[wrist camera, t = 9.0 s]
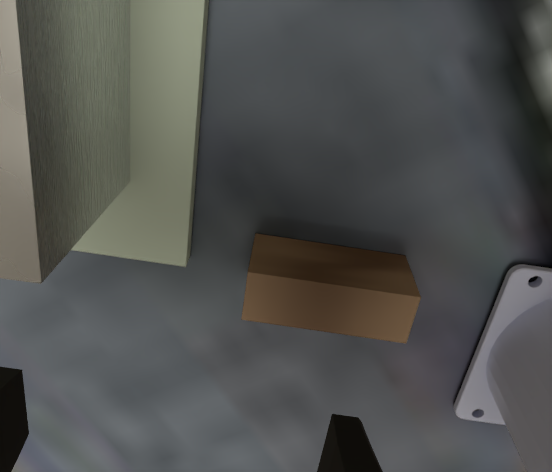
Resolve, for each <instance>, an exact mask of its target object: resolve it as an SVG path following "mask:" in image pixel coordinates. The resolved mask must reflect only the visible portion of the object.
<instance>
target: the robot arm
mask: <svg viewBox="0 0 552 472" xmlns="http://www.w3.org/2000/svg"><path fill="white" fill-rule="evenodd" d="M534 276H538V278H537V279H536V280H535V281H533V282H528V281H529V279H530V278H532V277H534ZM476 409H480V410H478V411H474V410H476ZM454 410H455V413H456V415H457V416H458V417H459V418H462V419H466V420H473V421H480V422H487V423H494V424H501V425H506V427H507V429H508V431H509V433H510V435H511V438H512V440H513V442H514V444H515V446H516V449H517V451H518V453H519V455H520V457H521V460H522V462H523V464H524V466H525V468H526V471H527V472H552V269H551V268H545V267H538V266H531V265H524V264H520V265H516V266H513V267H512V268H511V269H509V271H508V272H507V274H506V277H505V279H504V282H503V284H502V287H501V289H500V291H499V294H498V296H497V299H496V301H495V304H494V306H493V309H492V311H491V314H490V316H489V319H488V321H487V324H486V326H485V329H484V331H483V334H482V336H481V339H480V341H479V344H478V346H477V349H476V351H475V354H474V356H473V359H472V361H471V364H470V366H469V369H468V371H467V374H466V376H465V379H464V381H463V384H462V386H461V389H460V391H459V394H458V396H457V399H456V401H455V404H454ZM28 434H29V430H28V421H27V412H26V402H25V393H24V384H23V375H22V370H19V369H12V368H5V367H0V472H11V471H12V469H13V467H14V465H15V463H16V461H17V459H18V457H19V454H20V452H21V450H22V448H23V446H24V443H25V441H26V439H27V437H28ZM317 472H383V471H382V469H381V467H380V465H379V463H378V460H377V458H376V456H375V454H374V451H373V449H372V447H371V444H370V442H369V440H368V437H367V435H366V432H365V430H364V427H363V424H362V422H361V421H360V419H359V418H357V417H350V416H343V415H336V414H332V417H331V420H330V424H329V428H328V432H327V436H326V440H325V444H324V447H323V451H322V455H321V459H320V463H319V467H318V471H317Z"/></svg>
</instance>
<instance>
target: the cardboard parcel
mask: <svg viewBox="0 0 552 472" xmlns="http://www.w3.org/2000/svg"><path fill="white" fill-rule="evenodd" d="M420 299H421V296H420V294H419V291H418V288H417V286H416V283H415V280H414V277H413V275H412V272H411V269H410V267H409V264H408V261H407V259H406V256H405V255H398V254H391V253H385V252H378V251H371V250H364V249H358V248H351V247H344V246H337V245H331V244H324V243H317V242H310V241H304V240H297V239H290V238H284V237H277V236H270V235H263V234H257V233H255V238H254V243H253V248H252V253H251V259H250V264H249V269H248V275H247V282H246V290H245V297H244V305H243V312H242V319H241V320H248V321H255V322H262V323H269V324H276V325H282V326H289V327H296V328H303V329H310V330H317V331H324V332H331V333H338V334H345V335H351V336H358V337H365V338H372V339H379V340H386V341H393V342H400V343H406V342H407V339H408V336H409V333H410V330H411V327H412V324H413V320H414V317H415V314H416V311H417V308H418V305H419V302H420Z"/></svg>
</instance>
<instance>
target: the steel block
mask: <svg viewBox="0 0 552 472" xmlns="http://www.w3.org/2000/svg"><path fill="white" fill-rule="evenodd" d="M129 182H130V0H0V278H4V279H11V280H18V281H26V282H33V283H40V284H41V283H42V282H43V281H44V280H45V279H46V278H47V277H48V275H49V274H50V273H51V272H52V271H53V270H54V268H55V267H56V266H57V265H58V264H59V263H60V262H61V260H62V259H63V258H64V257H65V256H66V255H67V254H68V252H69V251H70V250H71V249H72V248H73V247H74V246H75V244H76V243H77V242H78V241H79V240H80V239H81V237H82V236H83V235H84V234H85V233H86V232H87V231H88V229H89V228H90V227H91V226H92V225H93V224H94V223H95V221H96V220H97V219H98V218H99V217H100V216H101V215H102V213H103V212H104V211H105V210H106V209H107V208H108V206H109V205H110V204H111V203H112V202H113V201H114V200H115V198H116V197H117V196H118V195H119V194H120V193H121V192H122V190H123V189H124V188H125V187H126V186H127V185H128V184H129Z"/></svg>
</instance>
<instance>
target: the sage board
mask: <svg viewBox="0 0 552 472" xmlns="http://www.w3.org/2000/svg"><path fill="white" fill-rule="evenodd" d="M208 6H209V0H130V182H129V184H128V185H127V186H126V187H125V188H124V189H123V190H122V192H121V193H120V194H119V195H118V196H117V197H116V198H115V200H114V201H113V202H112V203H111V204H110V205H109V206H108V208H107V209H106V210H105V211H104V212H103V213H102V215H101V216H100V217H99V218H98V219H97V220H96V221H95V223H94V224H93V225H92V226H91V227H90V228H89V229H88V231H87V232H86V233H85V234H84V235H83V236H82V237H81V239H80V240H79V241H78V242H77V243H76V244H75V246H74V247H73V248H72V249H71V250H74V251H81V252H88V253H95V254H102V255H108V256H115V257H122V258H129V259H136V260H143V261H149V262H156V263H163V264H170V265H177V266H183V267H186V265H187V263H188V261H189V258H190V250H191V236H192V223H193V209H194V196H195V182H196V169H197V155H198V141H199V128H200V114H201V101H202V87H203V74H204V60H205V47H206V33H207V20H208Z"/></svg>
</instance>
